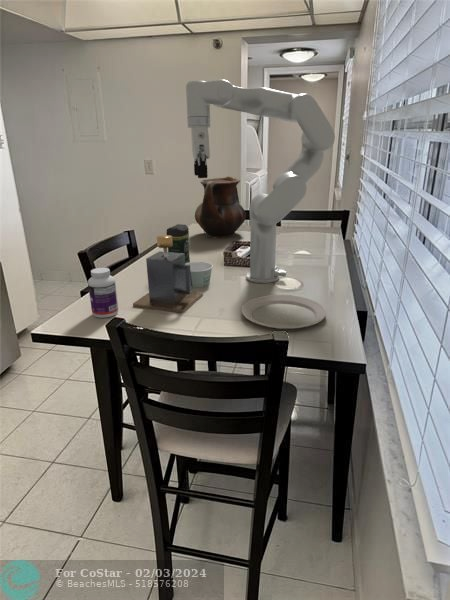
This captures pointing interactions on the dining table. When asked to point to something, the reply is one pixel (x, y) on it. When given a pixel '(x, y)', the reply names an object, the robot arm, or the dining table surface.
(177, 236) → the coffee jar
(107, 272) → the pill bottle
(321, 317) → the plate
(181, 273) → the block on wooden base
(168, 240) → the plunger
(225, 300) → the dining table surface
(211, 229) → the jug
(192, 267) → the food container
